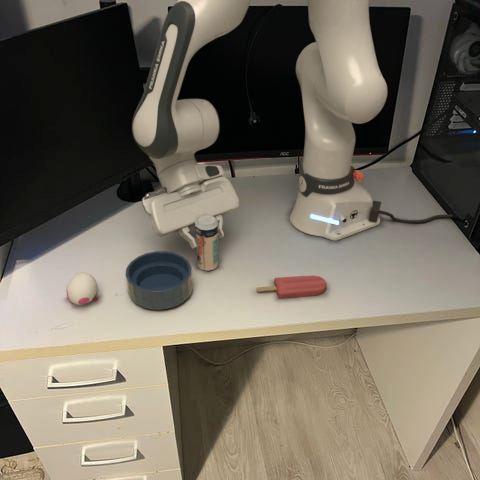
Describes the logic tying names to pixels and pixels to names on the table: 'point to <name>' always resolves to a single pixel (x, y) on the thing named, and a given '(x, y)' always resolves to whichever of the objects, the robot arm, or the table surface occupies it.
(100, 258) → the table surface
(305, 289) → the popsicle
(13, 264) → the table surface
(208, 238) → the white capped supplement bottle
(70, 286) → the stress ball
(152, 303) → the bowl
